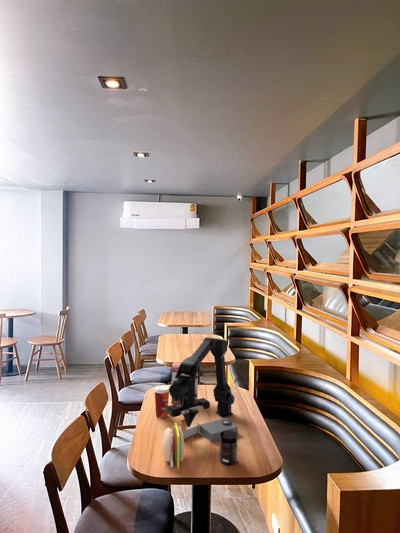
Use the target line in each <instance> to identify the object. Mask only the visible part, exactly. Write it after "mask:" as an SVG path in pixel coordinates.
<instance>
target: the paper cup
mask: <svg viewBox="0 0 400 533" xmlns="http://www.w3.org/2000/svg"><path fill="white" fill-rule="evenodd" d="M169 388H170V386H168V385H163V384H162V385H157V386H155V387H154V390H153V392H154V399H155V400H154V401H155V417H156V418H159V419H165V418H167V417H168V415H169V414H168V413H166V408H167V407H168V406H169V398H170V393H169Z"/></svg>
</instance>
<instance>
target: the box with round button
mask: <svg viewBox="0 0 400 533" xmlns="http://www.w3.org/2000/svg"><path fill="white" fill-rule="evenodd" d="M238 429H239V426H238V425H236V424H235V423H234V422H233V421H231V420H230V419H227V418H226V417H221V418H219V419H216V420H212V421H209V422H204V423H200V424H199V433H198V434H201V436H203V437H204V438H205V439H207V440H208V441H209V442H210V443H214V442H217V441H220V433H221V432H223V431H227V430H228V431H234V432H236V433H237V435H239V432H238V431H239V430H238Z"/></svg>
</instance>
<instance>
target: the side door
mask: <svg viewBox="0 0 400 533" xmlns="http://www.w3.org/2000/svg"><path fill="white" fill-rule="evenodd" d="M199 425H200V423H196V424H193V425H192V426H191V425H190V427H187V425H186V422H185V419H184V417H182V418H180V419H179V426H180V427H181V429H182V432H183V438H184V440H185V439H187V438H189V437H191V436H194V435H196V434H200V433H199Z"/></svg>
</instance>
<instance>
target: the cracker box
mask: <svg viewBox="0 0 400 533" xmlns="http://www.w3.org/2000/svg"><path fill="white" fill-rule="evenodd" d="M181 363H182V361H181V362H179V361H178V362H175V361H174V362H172V365H171V367H172V368H171V385H172V384H173V381H175V380H178V379H176V378H175V377H176V374H177V372H178V369H179V366H180V364H181ZM181 375H184V374H181ZM184 376H188V375H184ZM197 376H198V378H197V379H196V386H195V393H196V394H197V397H195V403H196V400H197V399H199V398H198V392H199V389H198V388H199V387H198V386H199V372H198V373H197ZM171 404H179V402H177V403H176V401H172V399H171Z"/></svg>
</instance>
